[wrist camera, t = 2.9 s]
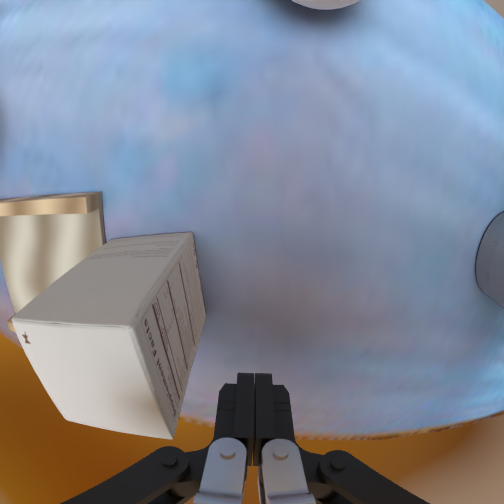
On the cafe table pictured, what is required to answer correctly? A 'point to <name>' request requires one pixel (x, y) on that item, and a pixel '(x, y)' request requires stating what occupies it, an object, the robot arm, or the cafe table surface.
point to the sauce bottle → (325, 3)
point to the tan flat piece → (46, 240)
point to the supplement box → (119, 334)
